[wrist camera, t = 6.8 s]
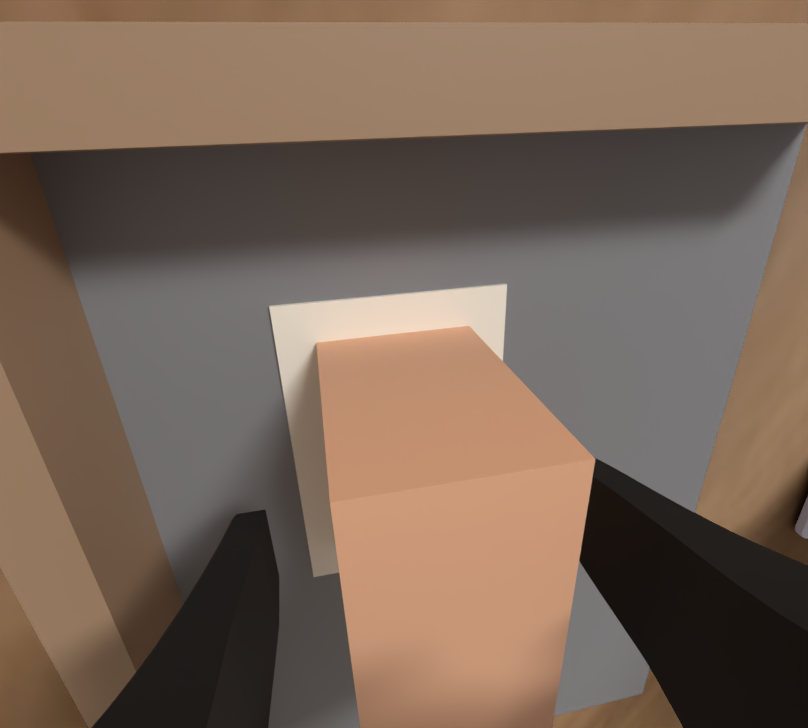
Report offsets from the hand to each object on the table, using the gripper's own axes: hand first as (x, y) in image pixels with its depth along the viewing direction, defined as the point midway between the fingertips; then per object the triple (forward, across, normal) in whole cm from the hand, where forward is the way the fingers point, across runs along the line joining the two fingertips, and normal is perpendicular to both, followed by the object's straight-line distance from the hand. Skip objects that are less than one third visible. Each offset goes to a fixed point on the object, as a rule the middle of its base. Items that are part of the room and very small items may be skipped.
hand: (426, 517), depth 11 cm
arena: (+4, -1, +3) cm, 5 cm away
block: (+3, 0, 0) cm, 3 cm away
